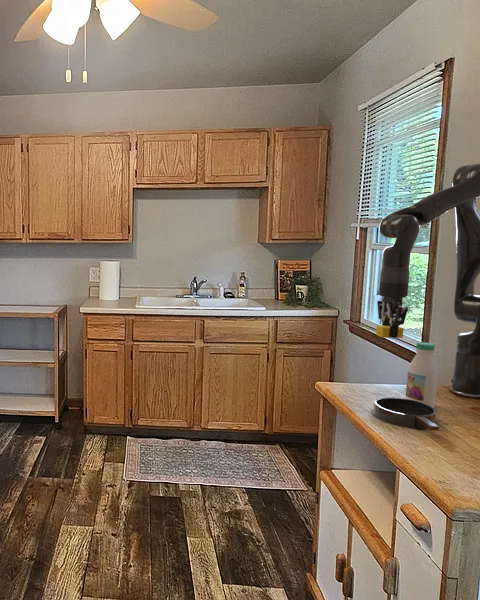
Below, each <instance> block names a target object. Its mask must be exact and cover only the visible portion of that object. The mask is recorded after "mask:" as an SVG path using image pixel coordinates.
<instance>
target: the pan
mask: <svg viewBox="0 0 480 600" xmlns="http://www.w3.org/2000/svg"><path fill="white" fill-rule="evenodd" d="M372 412H373V415H374V416H375V417H376V418H378V419H379V420H381V421H383V422H386V423H389V424H392V425H396V426H400V427H405V428H413V429H416V428H415V423H416V416H420V417H425V418H426V419H428V420H430V421H431V422H433V423H434V424H436V420H437V410H436V409H435V407H434V408H433V407H431V406H429V405H427V404H424V403H421V402H417V401H414V400H409V399H405V398H403V397H389V396H388V397H387V396H386V397H380V398H377V399H375V400H374V401H373V411H372ZM426 428H427V427H425V429H426ZM427 429H428V428H427Z"/></svg>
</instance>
